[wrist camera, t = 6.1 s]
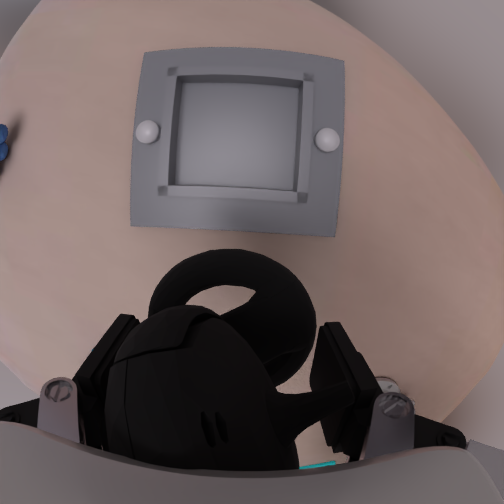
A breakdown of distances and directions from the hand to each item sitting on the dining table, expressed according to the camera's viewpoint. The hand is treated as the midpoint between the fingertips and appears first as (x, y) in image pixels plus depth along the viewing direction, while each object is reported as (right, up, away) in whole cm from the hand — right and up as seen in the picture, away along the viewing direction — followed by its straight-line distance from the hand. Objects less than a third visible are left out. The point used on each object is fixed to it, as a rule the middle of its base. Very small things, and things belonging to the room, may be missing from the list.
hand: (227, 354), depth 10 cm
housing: (-1, +16, +17) cm, 23 cm away
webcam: (0, +1, +2) cm, 3 cm away
